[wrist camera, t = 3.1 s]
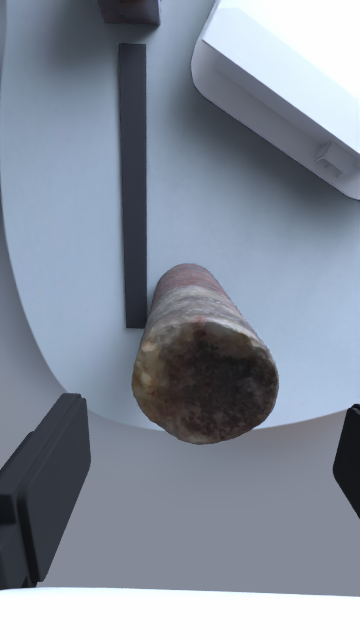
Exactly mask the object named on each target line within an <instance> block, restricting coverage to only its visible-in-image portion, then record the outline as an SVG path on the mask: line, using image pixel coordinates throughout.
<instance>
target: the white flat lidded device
mask: <svg viewBox="0 0 360 640" xmlns="http://www.w3.org/2000/svg"><path fill="white" fill-rule="evenodd" d="M191 71H192V77H193V84H194V85H195V86H196V87H197V89H198V90H199V91H200V93H201V94H202V95H203V97H205V98H206V99H208V100H209V101H211V102H212V103H214V104H215V105H216V106H218V107H219V108H221V109H222V110H224V111H225V112H227V113H228V114H229V115H231V116H232V117H234V118H235V119H237V120H238V121H240V122H241V123H242V124H244V125H245V126H247V127H248V128H250V129H251V130H253V131H254V132H255V133H257V134H258V135H260V136H261V137H263V138H264V139H265V140H267V141H268V142H270V143H271V144H273V145H274V146H276V147H277V148H278V149H280V150H281V151H283V152H284V153H286V154H287V155H289V156H290V157H291V158H293V159H294V160H296V161H297V162H299V163H300V164H302V165H303V166H304V167H306V168H307V169H309V170H310V171H312V172H313V173H315V174H316V175H317V176H319V177H320V178H322V179H323V180H325V181H326V182H328V183H329V184H330V185H332V186H333V187H335V188H336V189H338V190H339V191H341V192H342V193H343V194H345V195H346V196H348V197H350V198H354V199H358V200H360V0H216V1H215V3H214V6H213V8H212V10H211V12H210V14H209V16H208V18H207V21H206V23H205V25H204V27H203V29H202V31H201V33H200V35H199V38H198V40H197V42H196V44H195V48H194V52H193V56H192V60H191Z"/></svg>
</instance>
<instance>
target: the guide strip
mask: <svg viewBox="0 0 360 640" xmlns="http://www.w3.org/2000/svg"><path fill="white" fill-rule="evenodd" d="M119 63H120V103H121V142H122V181H123V220H124V260H125V299H126V328H140V329H145V326H146V323H147V238H146V44H128V43H119Z"/></svg>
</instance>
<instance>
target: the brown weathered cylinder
mask: <svg viewBox="0 0 360 640" xmlns="http://www.w3.org/2000/svg"><path fill="white" fill-rule="evenodd" d="M278 389H279V375H278V371H277V368H276V364H275V361H274V359H273V357H272V356H271V353H270V351H269V349H268V348H267V347H266V345H265V344H264V343H263V342H262V340H261V339H260V338H259V337H258V336H257V334H256V333H255V331H254V330H253V329H252V327H251V326H250V325H249V323H248V322H247V321H246V320H245V318H244V317H243V316H242V314H241V313H240V311H239V310H238V309H237V307H236V306H235V305H234V304H233V302H232V301H231V299H230V298H229V297H228V295H227V294H226V293H225V291H224V290H223V288H222V287H221V285H220V284H219V283H218V281H217V280H216V279H215V278H214V276H213V275H212V274H211V273H210V272H209V271H208V270H207V269H205V268H203V267H201V266H199V265H196V264H181V265H177V266H175V267H173V268H172V269H170V270H169V271H167V272H166V273H165V274H164V275H163V276H162V278H161V279H160V280H159V282H158V285H157V287H156V291H155V294H154V298H153V302H152V306H151V309H150V313H149V316H148V320H147V323H146V326H145V330H144V333H143V336H142V338H141V342H140V346H139V350H138V354H137V357H136V360H135V363H134V368H133V375H132V391H133V396H134V397H135V398H136V401H137V403H138V405H139V407H140V409H141V410H142V412H143V413H144V414H145V415H146V416H147V417H148V418H149V420H150V421H152V422H154V423H156V424H157V425H158V426H160V427H162V428H163V429H164V430H165V431H167V432H168V433H169V434H171V435H173V436H175V437H177V438H178V439H179V440H181V441H184V442H188V443H192V444H197V445H203V444H213V443H218V442H220V441H225V440H229V439H233V438H236V437H238V436H240V435H242V434H244V433H246V432H248V431H250V430H251V429H253V428H254V427H256V426H258V425H260V424H261V423H262V422H263V421H265V420H266V418H267V417H268V416H269V414H270V413H271V412H272V410H273V408H274V406H275V403H276V398H277V394H278Z"/></svg>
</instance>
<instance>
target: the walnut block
mask: <svg viewBox="0 0 360 640" xmlns="http://www.w3.org/2000/svg"><path fill="white" fill-rule="evenodd" d="M97 3H98V6H99V9H100V11H101V14H102V17H103V20H104V22H105V23H120V24H144V25H160V24H161V0H97Z"/></svg>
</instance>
